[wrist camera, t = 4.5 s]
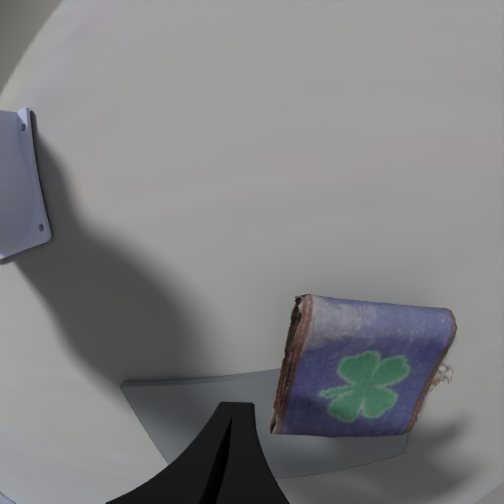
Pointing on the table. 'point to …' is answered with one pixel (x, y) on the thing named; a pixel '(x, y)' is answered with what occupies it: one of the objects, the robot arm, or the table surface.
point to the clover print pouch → (359, 367)
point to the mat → (273, 445)
